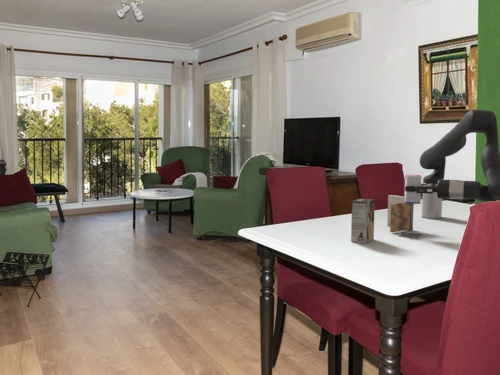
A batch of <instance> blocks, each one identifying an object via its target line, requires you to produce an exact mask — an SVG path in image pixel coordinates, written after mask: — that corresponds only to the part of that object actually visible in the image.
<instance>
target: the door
mask: <svg viewBox="0 0 500 375" xmlns="http://www.w3.org/2000/svg"><path fill="white" fill-rule="evenodd" d="M409 229H410V204H406V203H405V202H402V203H394V204H391V219H390V226H389V233H397V232H405V231H410V230H409Z"/></svg>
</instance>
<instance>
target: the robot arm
mask: <svg viewBox="0 0 500 375" xmlns="http://www.w3.org/2000/svg"><path fill="white" fill-rule="evenodd" d="M473 133H475V134H477V133H479V134H484V135H485V138H486V143H485V146H484V148H483V150H482V152H481V155H480V164H481V169H482V173H483V175H484V178H486V182H487V185H485V184H481V182H479V181H476V180H459V179H445V170H446V162H447V161H446V160H447V157H450V156H453V155H455V154H456V153H458V152H460V151H461V150H462V149H464V147H465V146H466V143H467V135H468V134H473ZM499 144H500V142H499V128H498V120H497V116H496V113H494V112H493V111H492V110H487V109H486V110H485V109H472V110H469V111H468V112H466V113H465V114H464V115H463V117H462V118H461V119H460V120H459V122H458V123H457V124H456V125H455V126H454V127H453V128H452V129H450V130H449V132H447V133H446V134H445V135H444V136H442V138H441V139H440V140H438V141H437V142H435V143H434V145H433V146H431V147H430V148H428V149H425V150H424V151H423V152H422V153H421V155H420V158H419V164H420V165H419V166H420V167H421V168H422V169H424V170H433V171H432V173H430V174H428V175H426V176H424V177H423V178H422V183H421V186H406V187H405V186H404V192H405V191H406V192H416V193H421V195H422V198H421V199H422V202H421V217H422V218H425V219H435V220H436V219H441V218H442V214H443V212H442V211H443V200H444V199H447V200H478V201H482V202H487V201H496V200H500V145H499ZM420 188H421V190H420ZM487 203H488V202H487Z"/></svg>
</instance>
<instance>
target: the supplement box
mask: <svg viewBox="0 0 500 375" xmlns="http://www.w3.org/2000/svg"><path fill="white" fill-rule="evenodd" d="M421 184H422V175H421V174H405V175H404V188H405V187H406V186H421ZM420 190H421V188H420ZM403 197H404V202H405V203H406V204H414V205H418V204H419V205H420V204H421V199H422V198H421V197H422V193H416V192H406V191H405V190H404V196H403Z"/></svg>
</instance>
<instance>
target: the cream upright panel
mask: <svg viewBox="0 0 500 375" xmlns="http://www.w3.org/2000/svg"><path fill="white" fill-rule="evenodd" d="M387 197H388V198H387V221H386V222H387V223H386V224H387V227H390V219H391V204H394V203H402V202H404V196H401V195H395V194H393V195H392V194H389V195H387ZM414 205H415V204H410V229H409V230H408V231H413V229H414V208H415V207H414Z"/></svg>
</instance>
